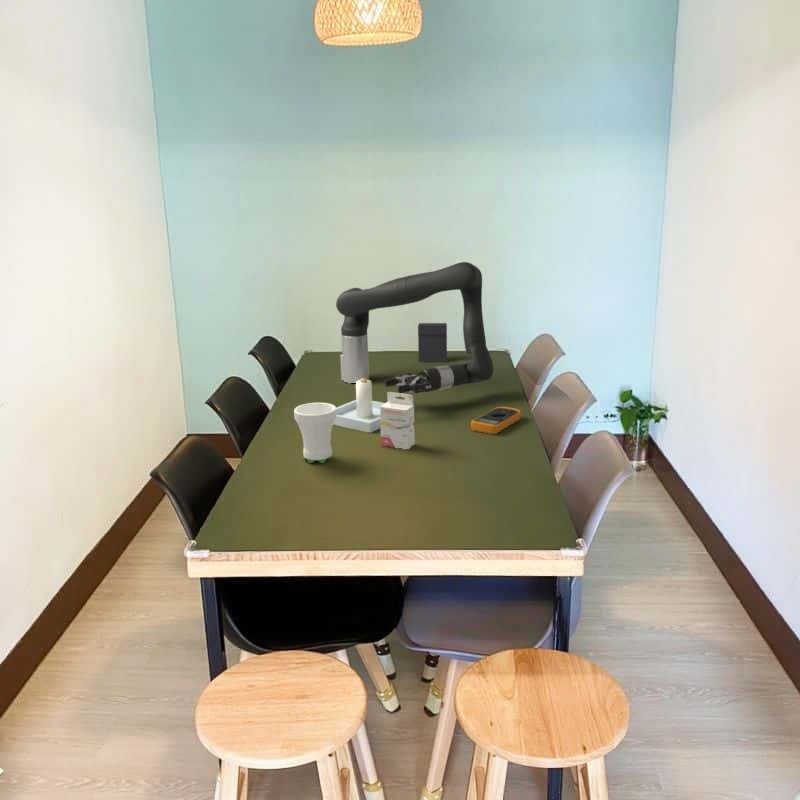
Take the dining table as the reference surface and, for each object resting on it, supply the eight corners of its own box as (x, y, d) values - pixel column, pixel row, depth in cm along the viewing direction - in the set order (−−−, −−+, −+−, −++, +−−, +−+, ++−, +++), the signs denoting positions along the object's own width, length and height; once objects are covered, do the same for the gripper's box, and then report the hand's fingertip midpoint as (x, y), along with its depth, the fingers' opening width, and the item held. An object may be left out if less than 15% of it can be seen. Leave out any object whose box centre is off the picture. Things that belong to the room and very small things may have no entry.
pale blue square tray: (323, 422, 241) (323, 413, 240) (360, 407, 255) (359, 398, 254) (369, 432, 231) (369, 423, 230) (405, 416, 245) (405, 407, 244)
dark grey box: (447, 359, 312) (446, 322, 307) (446, 362, 308) (446, 324, 303) (419, 359, 313) (418, 322, 308) (418, 362, 309) (417, 324, 304)
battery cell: (353, 416, 242) (352, 380, 239) (363, 412, 246) (362, 376, 243) (366, 419, 240) (364, 382, 236) (375, 415, 243) (374, 378, 240)
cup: (305, 469, 205) (302, 417, 201) (291, 456, 214) (287, 406, 210) (345, 461, 210) (343, 410, 206) (329, 448, 219) (326, 400, 215)
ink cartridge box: (380, 446, 220) (378, 395, 216) (387, 440, 225) (386, 391, 220) (408, 450, 217) (407, 399, 212) (415, 444, 221) (414, 394, 217)
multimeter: (523, 419, 240) (523, 409, 239) (495, 436, 226) (495, 425, 225) (498, 415, 245) (498, 404, 244) (469, 431, 231) (469, 420, 230)
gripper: (424, 362, 257) (380, 369, 250) (448, 372, 245) (402, 380, 238) (425, 384, 259) (381, 392, 252) (448, 395, 247) (403, 403, 240)
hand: (391, 386), depth 245 cm, fingers open, 8 cm apart
